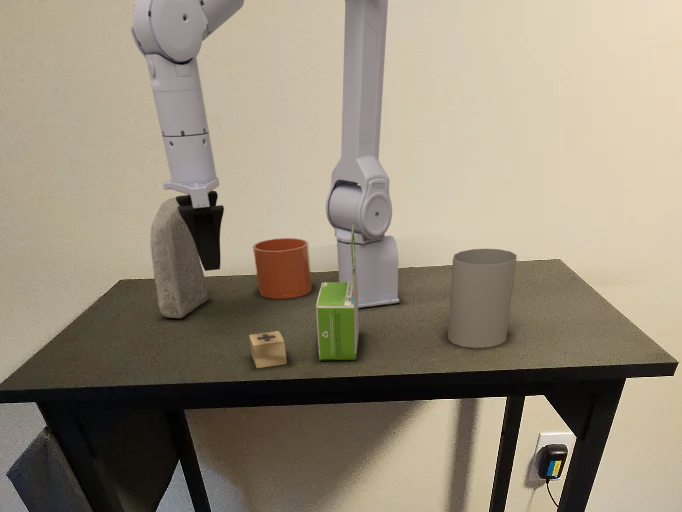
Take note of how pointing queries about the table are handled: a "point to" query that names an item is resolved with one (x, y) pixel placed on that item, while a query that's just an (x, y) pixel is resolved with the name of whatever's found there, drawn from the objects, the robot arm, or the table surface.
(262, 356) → the beige cube
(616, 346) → the table surface
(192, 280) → the decorative stone
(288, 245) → the cup
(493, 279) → the cup
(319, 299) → the ink box
